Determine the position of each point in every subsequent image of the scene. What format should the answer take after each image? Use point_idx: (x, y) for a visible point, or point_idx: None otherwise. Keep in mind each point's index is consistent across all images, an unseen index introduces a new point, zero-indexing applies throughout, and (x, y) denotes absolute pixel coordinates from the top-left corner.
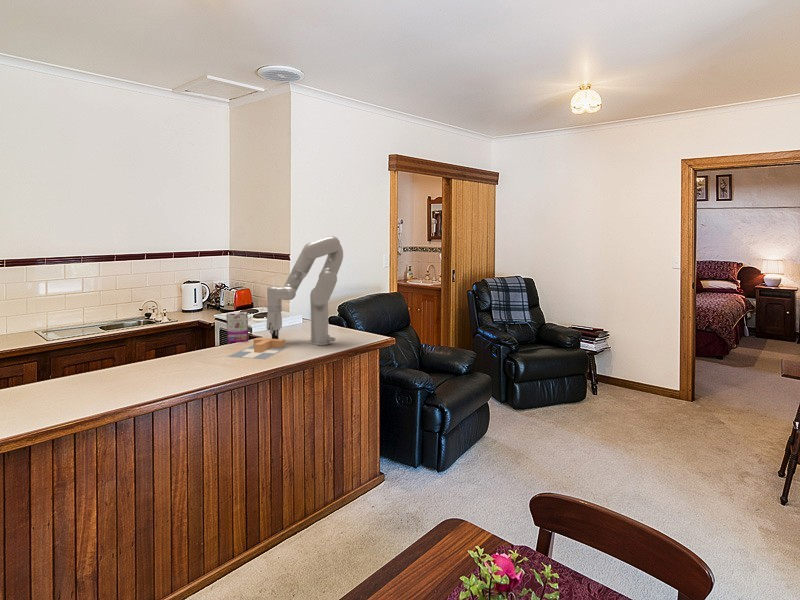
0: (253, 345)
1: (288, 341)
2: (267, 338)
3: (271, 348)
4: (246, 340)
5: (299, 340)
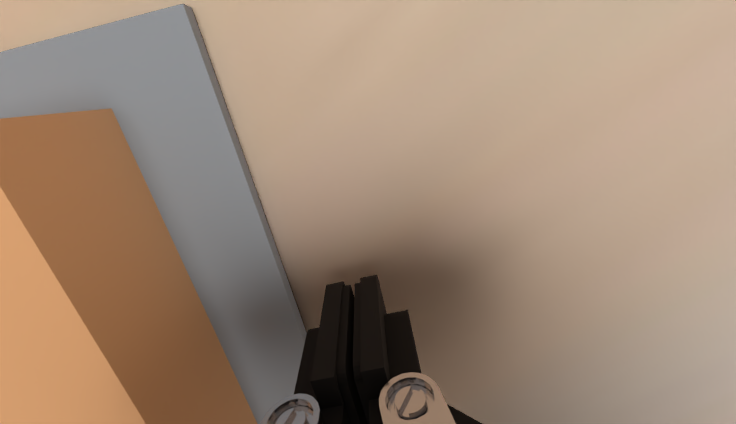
0: (45, 65)
1: (631, 315)
2: (121, 381)
3: None
4: None
5: (725, 390)
